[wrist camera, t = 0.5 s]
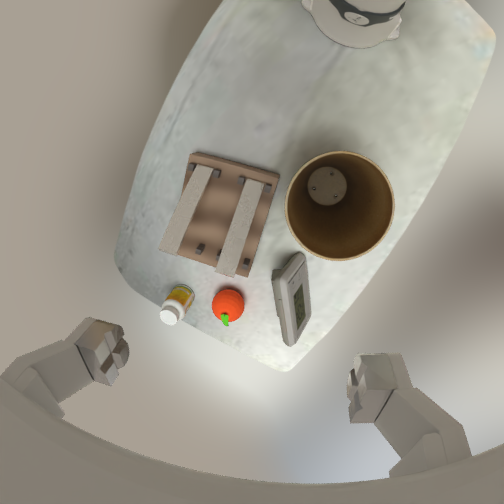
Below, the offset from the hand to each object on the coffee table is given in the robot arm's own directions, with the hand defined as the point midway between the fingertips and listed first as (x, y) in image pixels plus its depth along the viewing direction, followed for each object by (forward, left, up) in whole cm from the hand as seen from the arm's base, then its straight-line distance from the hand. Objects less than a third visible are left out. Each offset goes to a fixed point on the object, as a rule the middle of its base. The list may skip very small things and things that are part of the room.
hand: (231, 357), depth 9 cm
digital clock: (+22, +10, -45) cm, 51 cm away
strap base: (+11, -9, -44) cm, 47 cm away
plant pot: (0, +8, -45) cm, 45 cm away
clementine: (+30, -3, -45) cm, 54 cm away
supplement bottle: (+33, -14, -45) cm, 57 cm away
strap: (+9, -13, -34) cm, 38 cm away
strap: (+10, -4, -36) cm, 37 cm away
